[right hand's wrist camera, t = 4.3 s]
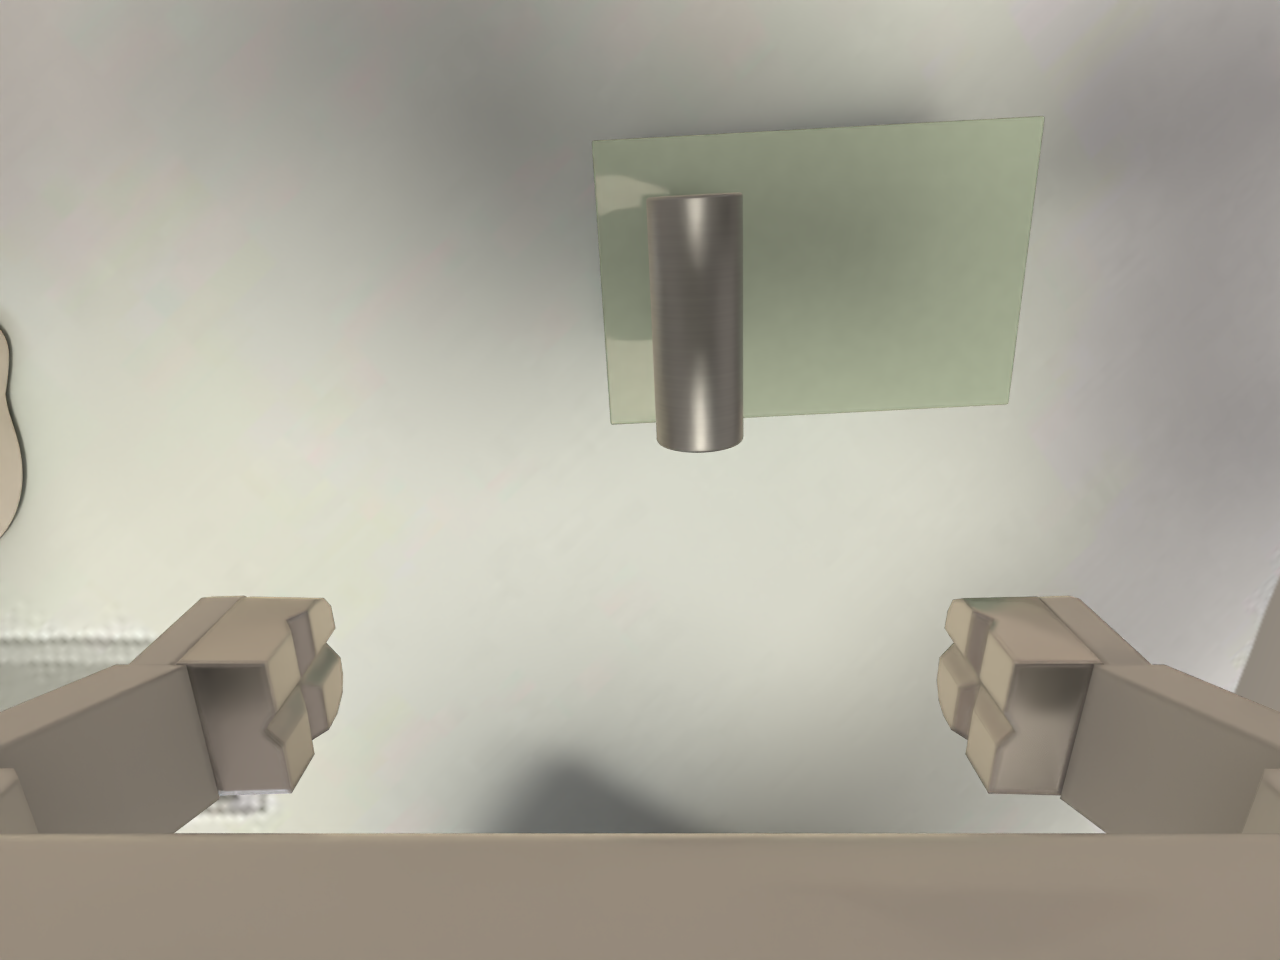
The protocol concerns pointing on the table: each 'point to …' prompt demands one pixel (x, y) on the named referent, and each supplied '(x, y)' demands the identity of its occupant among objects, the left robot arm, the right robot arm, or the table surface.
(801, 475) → the table surface
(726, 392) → the box cover with handle
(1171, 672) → the right robot arm
